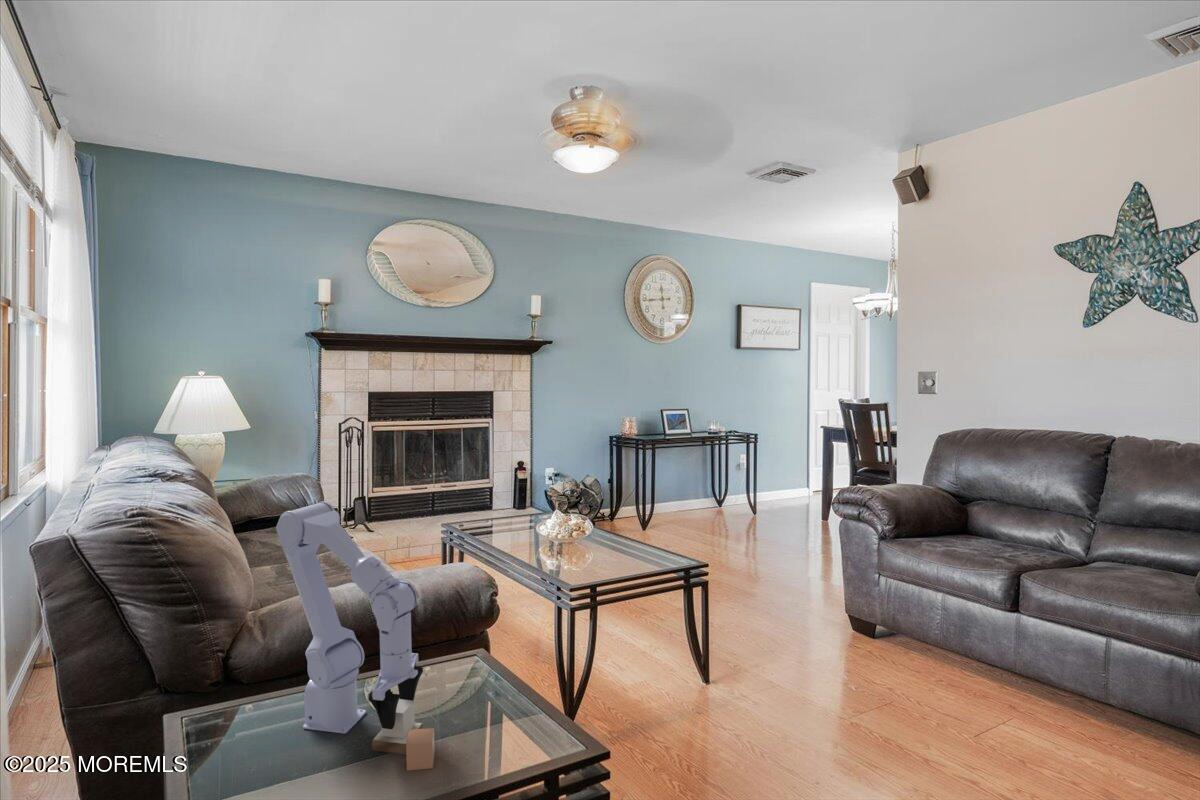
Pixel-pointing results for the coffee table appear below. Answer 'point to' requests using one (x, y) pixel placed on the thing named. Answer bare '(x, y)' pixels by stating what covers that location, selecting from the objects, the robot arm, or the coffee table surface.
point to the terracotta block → (420, 749)
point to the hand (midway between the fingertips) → (397, 716)
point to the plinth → (392, 742)
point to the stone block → (402, 720)
